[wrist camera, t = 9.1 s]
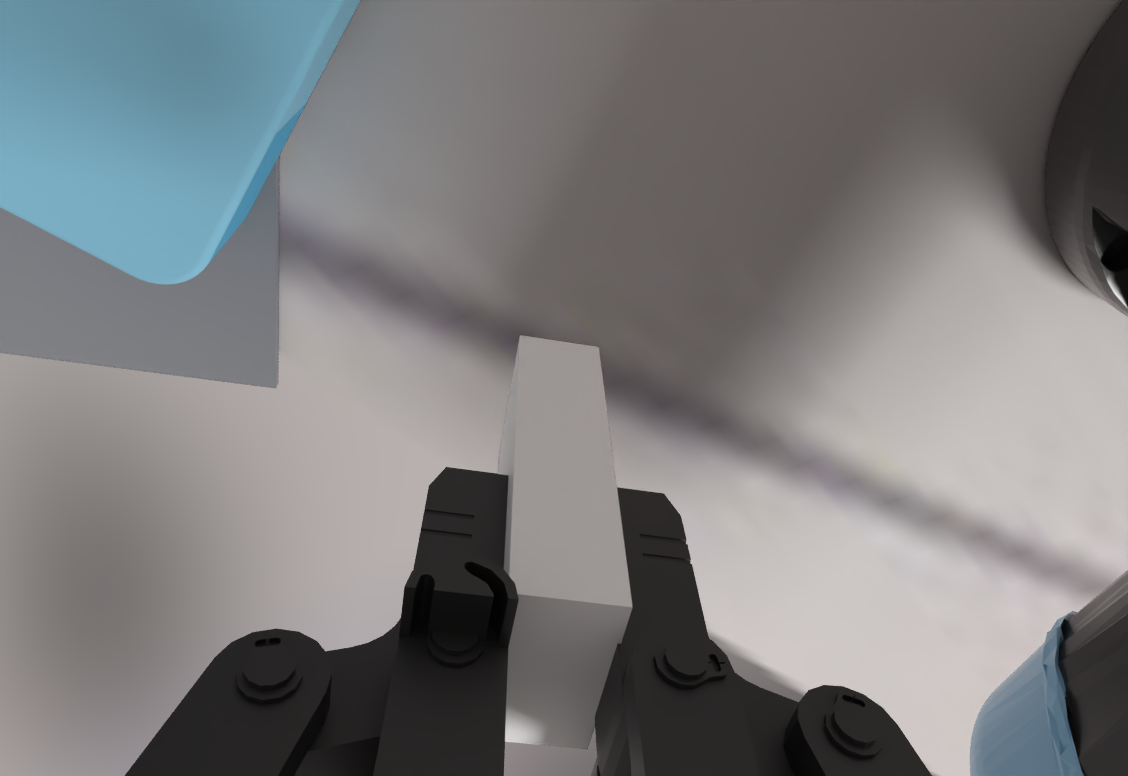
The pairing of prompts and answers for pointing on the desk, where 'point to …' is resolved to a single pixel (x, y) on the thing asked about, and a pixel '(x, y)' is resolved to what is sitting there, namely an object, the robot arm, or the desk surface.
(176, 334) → the mat
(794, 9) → the desk surface
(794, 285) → the desk surface
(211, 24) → the data package
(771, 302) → the desk surface
